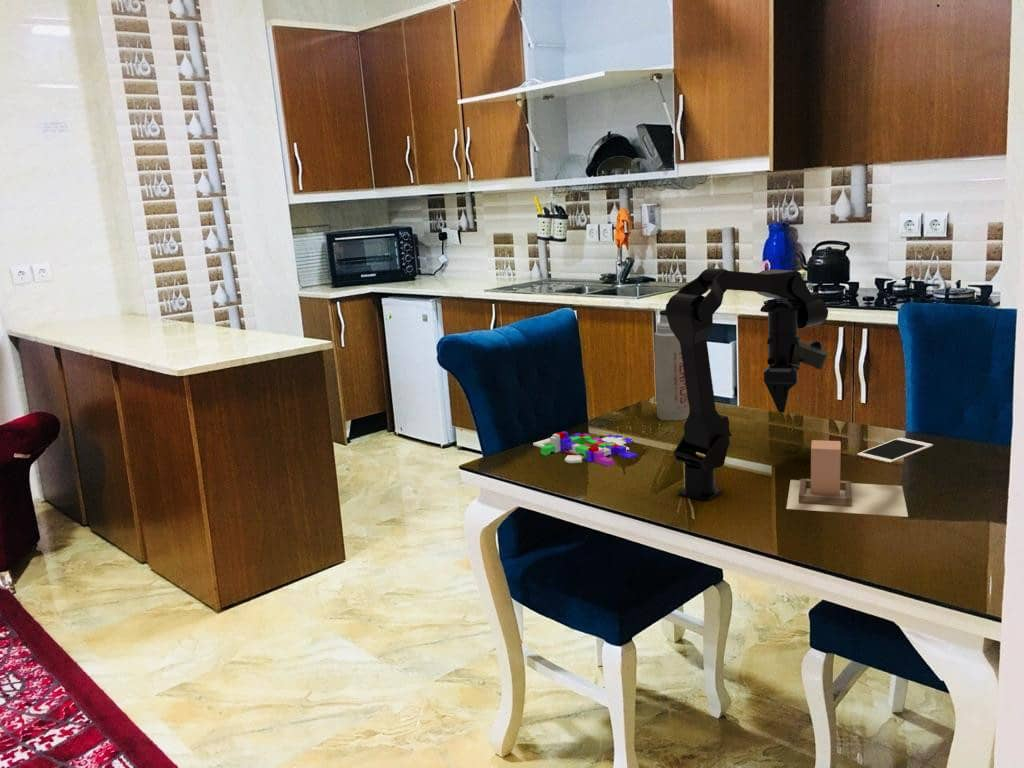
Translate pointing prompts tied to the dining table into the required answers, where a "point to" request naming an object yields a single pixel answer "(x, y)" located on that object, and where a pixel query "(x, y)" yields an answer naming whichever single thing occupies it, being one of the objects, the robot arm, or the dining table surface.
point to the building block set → (586, 447)
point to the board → (849, 499)
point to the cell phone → (894, 450)
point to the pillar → (825, 467)
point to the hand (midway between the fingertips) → (782, 406)
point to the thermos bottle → (669, 373)
